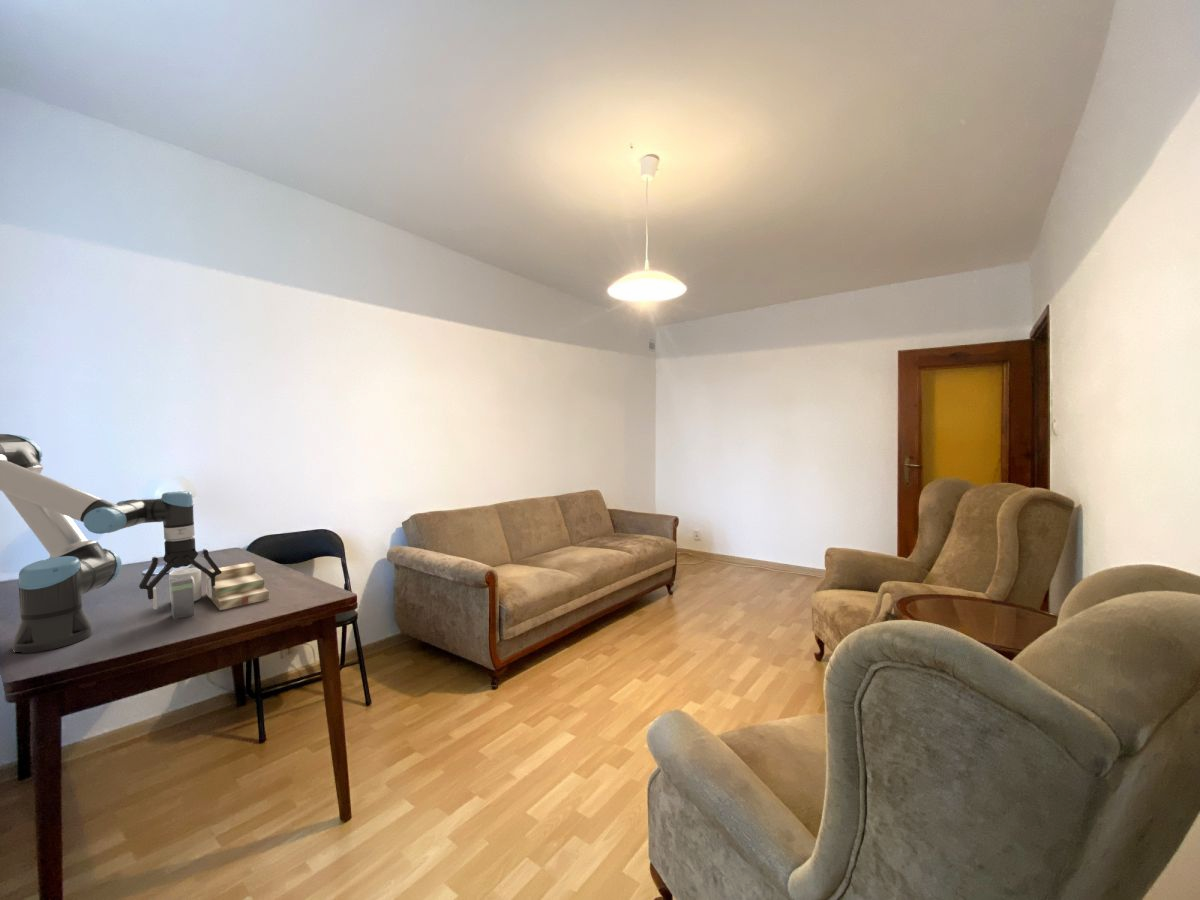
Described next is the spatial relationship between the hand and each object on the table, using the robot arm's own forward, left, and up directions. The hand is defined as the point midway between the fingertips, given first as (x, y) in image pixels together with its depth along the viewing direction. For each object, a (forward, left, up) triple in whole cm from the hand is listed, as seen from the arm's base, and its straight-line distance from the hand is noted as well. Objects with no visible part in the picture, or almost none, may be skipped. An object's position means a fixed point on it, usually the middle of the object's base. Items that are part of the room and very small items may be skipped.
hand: (183, 602), depth 156 cm
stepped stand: (+16, +8, -4) cm, 18 cm away
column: (0, 0, -4) cm, 4 cm away
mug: (+3, +15, -5) cm, 16 cm away
